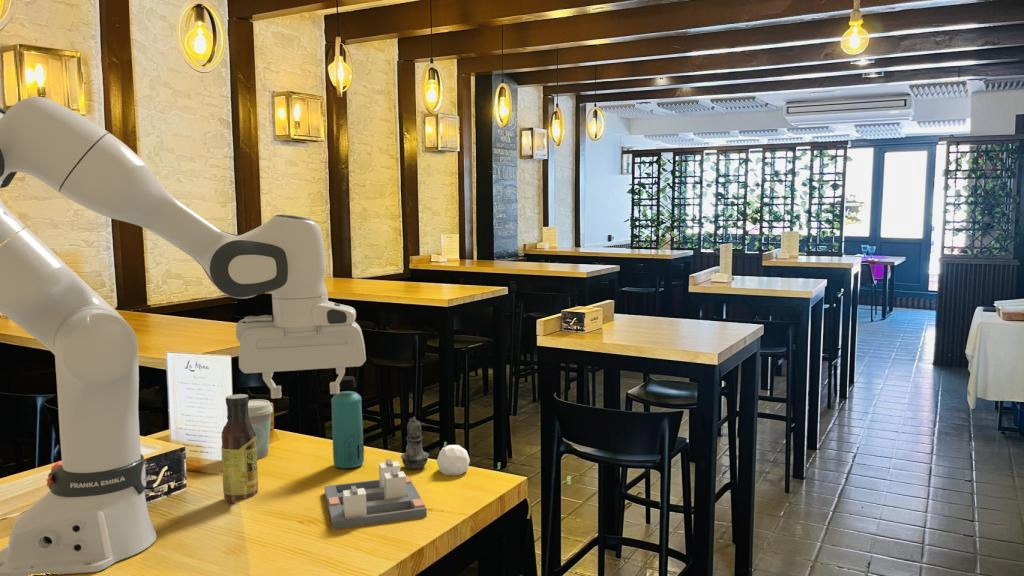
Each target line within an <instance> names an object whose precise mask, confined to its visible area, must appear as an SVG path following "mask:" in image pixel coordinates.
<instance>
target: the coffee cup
mask: <svg viewBox="0 0 1024 576" xmlns="http://www.w3.org/2000/svg"><path fill="white" fill-rule="evenodd" d="M273 410H274V409H273V407H272V404H271V402H270V401H269V400H267V399H258V398H257V399H249V403H248V415H249V419H250V422H251V424H252V427H253V429H254V431H255V434H256V441H257V460H259V459H263V458H265V457H267V456H268V454H269V449H270V447H269V445H270V436H271V435H270V433H271V432H270V431H271V421H272V412H273Z"/></svg>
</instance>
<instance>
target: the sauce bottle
mask: <svg viewBox="0 0 1024 576" xmlns="http://www.w3.org/2000/svg"><path fill="white" fill-rule="evenodd" d="M249 400H250V399H249V395H248V394H245V393H243V394H242V393H238V394H237V393H236V394H231V395H227V396H226V397H225V404H226V413H227V414H226V415H227V416H226V418H227V421H226V423H225V425H224V426H223V428H222V431H221V447H220V448H221V464H222V465H221V467H222V489H223V490H222V493H223V500H224V501H225V502H226V504H227V503H228V504H232V505H234V504H235V503H236V500H237V501H240V500H241V501H242V500H246V499H249V498H252V497H254V496H256V495H257V494H258V491H259V473H258V472H259V471H258V459H257V441H256V434H255V431H254V429H253V427H252V424H251V422H250V419H249V415H248V403H249Z"/></svg>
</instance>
